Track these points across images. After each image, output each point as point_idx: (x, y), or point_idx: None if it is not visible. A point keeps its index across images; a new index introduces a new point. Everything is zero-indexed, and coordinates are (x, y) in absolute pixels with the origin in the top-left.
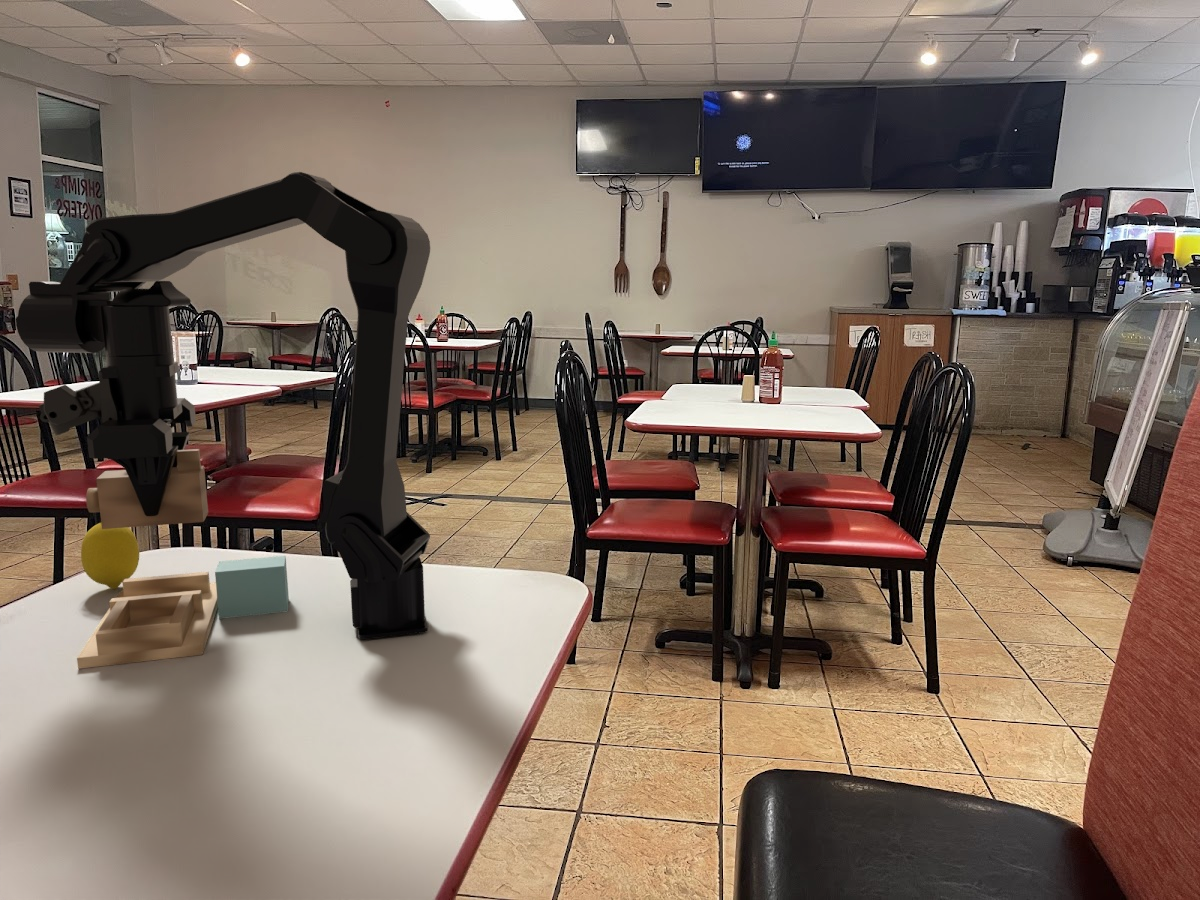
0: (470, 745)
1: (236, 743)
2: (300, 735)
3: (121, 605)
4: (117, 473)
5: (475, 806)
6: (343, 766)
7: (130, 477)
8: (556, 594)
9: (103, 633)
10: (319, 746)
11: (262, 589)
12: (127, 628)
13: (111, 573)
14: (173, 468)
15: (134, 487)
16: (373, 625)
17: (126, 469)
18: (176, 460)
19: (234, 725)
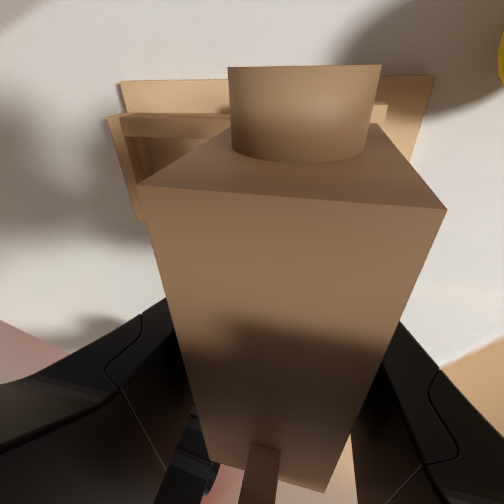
0: (53, 335)
1: (25, 244)
2: (44, 276)
3: (219, 132)
4: (283, 290)
5: (9, 323)
6: (20, 289)
7: (94, 344)
8: None
9: (110, 128)
10: (35, 283)
11: None
12: (128, 159)
13: (499, 46)
14: (313, 449)
15: (143, 313)
16: None
17: (35, 375)
18: (360, 497)
19: (46, 243)
